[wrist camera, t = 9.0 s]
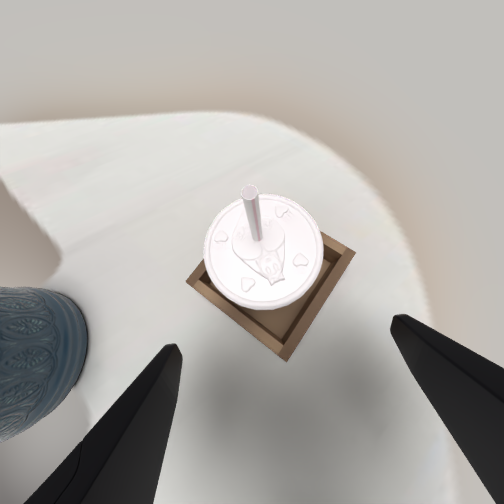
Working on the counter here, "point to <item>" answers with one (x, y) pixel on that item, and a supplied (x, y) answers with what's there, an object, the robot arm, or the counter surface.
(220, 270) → the smoothie
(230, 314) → the wooden box
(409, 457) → the counter surface
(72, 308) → the canister
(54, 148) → the counter surface
